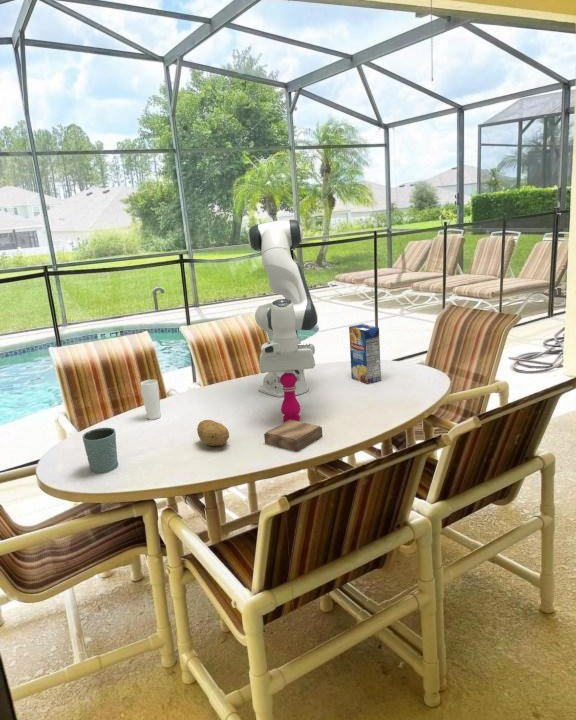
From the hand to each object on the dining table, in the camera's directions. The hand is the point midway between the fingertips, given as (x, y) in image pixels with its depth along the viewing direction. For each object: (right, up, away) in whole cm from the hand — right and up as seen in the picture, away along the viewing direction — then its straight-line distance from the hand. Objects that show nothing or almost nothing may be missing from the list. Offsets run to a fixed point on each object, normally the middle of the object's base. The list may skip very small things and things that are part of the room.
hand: (288, 381), depth 204 cm
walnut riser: (+2, -19, -14) cm, 24 cm away
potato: (-25, -21, -12) cm, 35 cm away
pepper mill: (+1, -15, +4) cm, 15 cm away
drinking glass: (-54, -15, +19) cm, 59 cm away
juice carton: (+35, -1, +45) cm, 57 cm away
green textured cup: (-59, -27, -23) cm, 69 cm away
